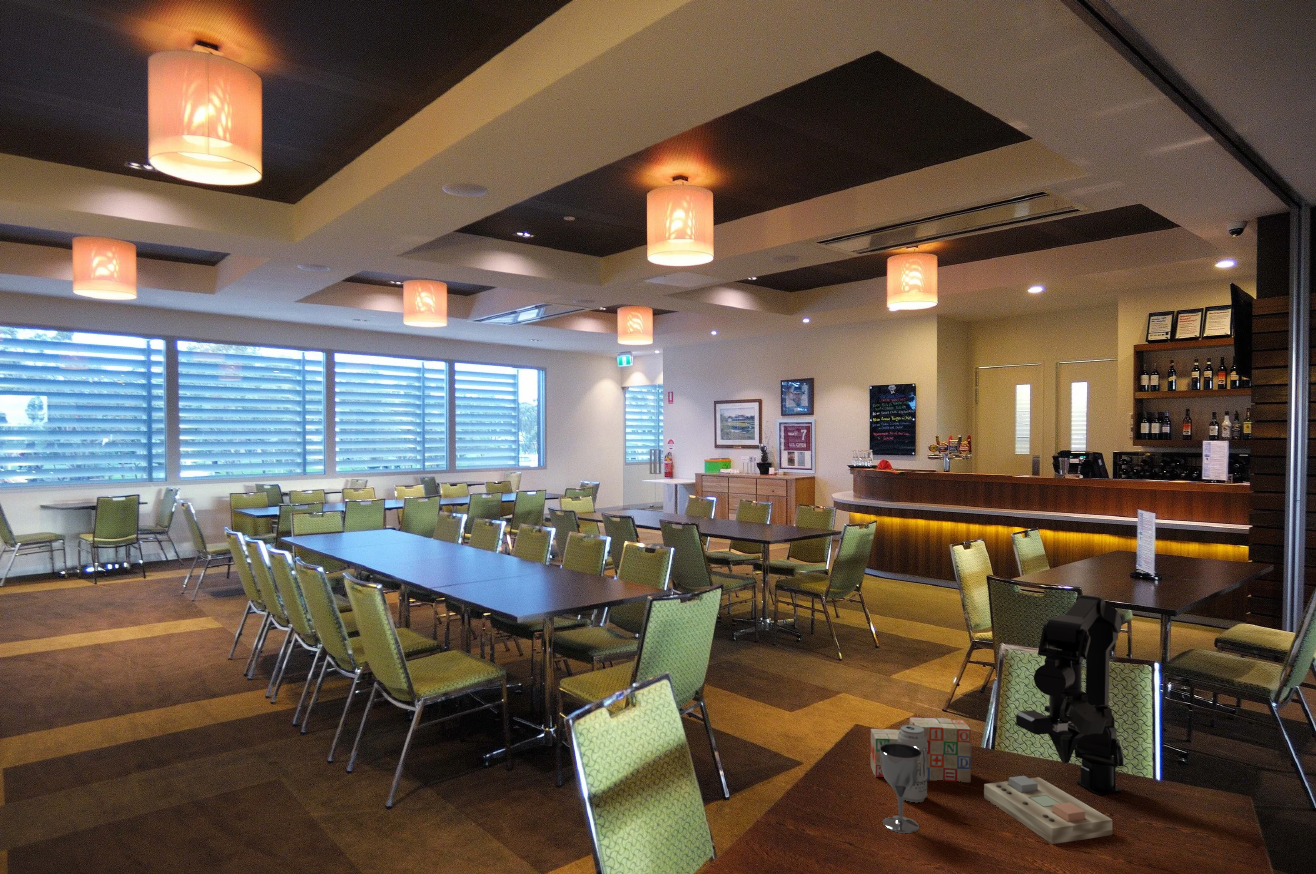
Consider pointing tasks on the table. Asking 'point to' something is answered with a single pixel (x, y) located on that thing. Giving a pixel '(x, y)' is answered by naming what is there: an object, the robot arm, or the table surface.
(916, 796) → the energy drink can
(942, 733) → the stack of blocks
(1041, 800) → the one-dot key
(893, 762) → the wine glass
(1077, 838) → the key panel
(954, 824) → the table surface
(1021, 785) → the three-dot key
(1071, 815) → the two-dot key
